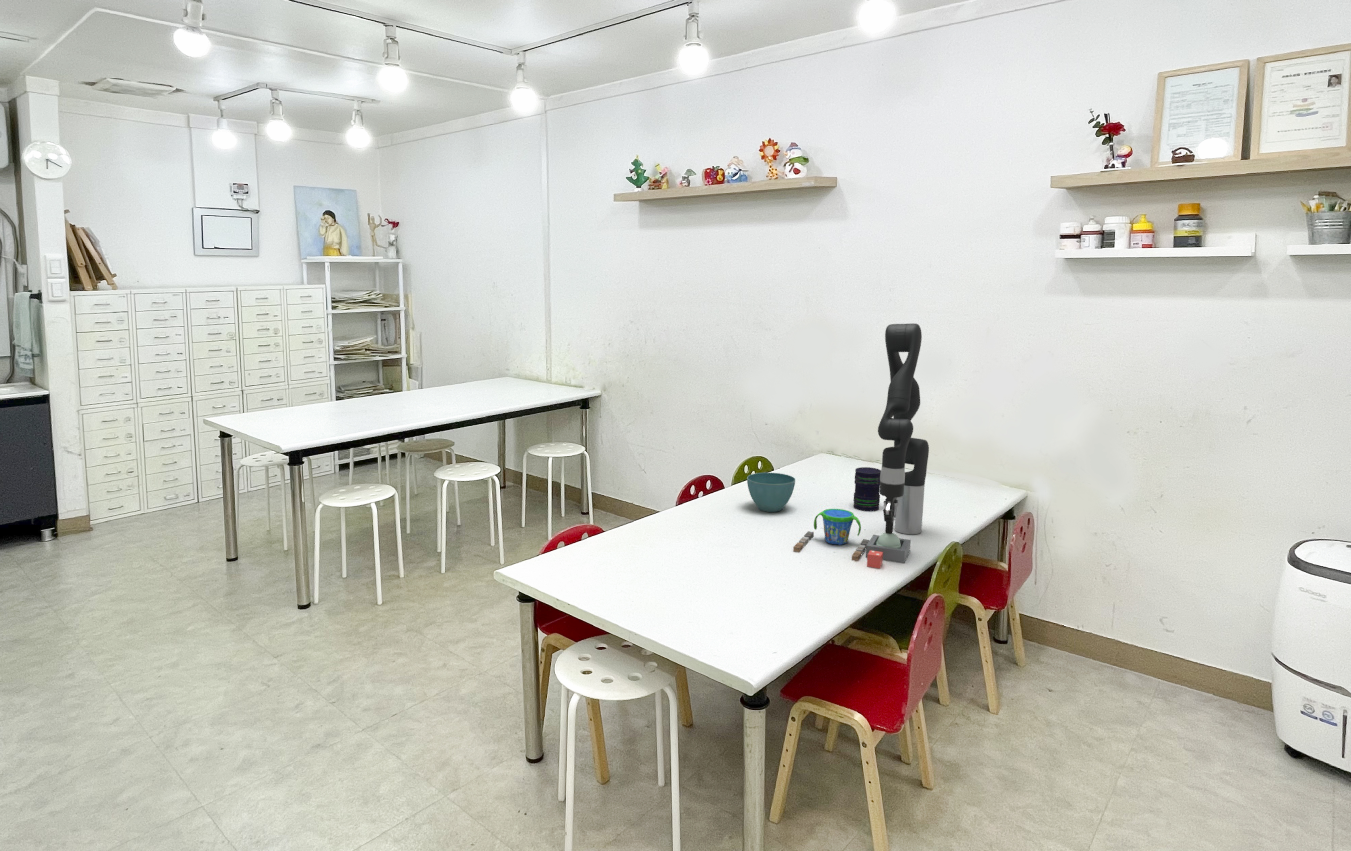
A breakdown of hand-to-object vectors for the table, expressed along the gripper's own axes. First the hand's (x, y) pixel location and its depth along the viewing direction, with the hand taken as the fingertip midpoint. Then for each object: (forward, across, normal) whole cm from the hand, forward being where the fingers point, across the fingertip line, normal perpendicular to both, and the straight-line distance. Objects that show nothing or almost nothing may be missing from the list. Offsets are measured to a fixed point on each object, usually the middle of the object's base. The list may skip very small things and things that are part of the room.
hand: (889, 532), depth 261 cm
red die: (+7, -12, +2) cm, 14 cm away
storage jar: (+8, +50, +17) cm, 53 cm away
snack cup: (+8, +5, +18) cm, 20 cm away
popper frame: (+7, 0, 0) cm, 7 cm away
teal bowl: (+8, +32, +50) cm, 60 cm away
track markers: (+7, -1, +18) cm, 19 cm away
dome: (+7, 0, 0) cm, 7 cm away
